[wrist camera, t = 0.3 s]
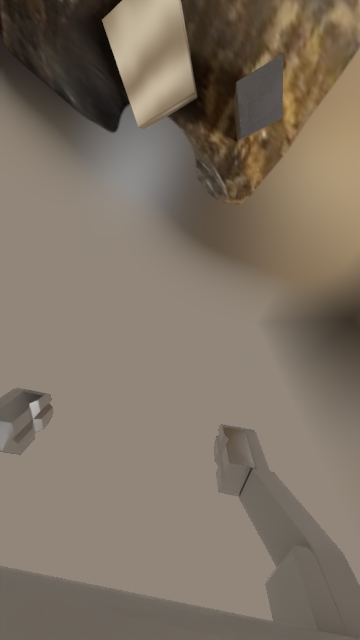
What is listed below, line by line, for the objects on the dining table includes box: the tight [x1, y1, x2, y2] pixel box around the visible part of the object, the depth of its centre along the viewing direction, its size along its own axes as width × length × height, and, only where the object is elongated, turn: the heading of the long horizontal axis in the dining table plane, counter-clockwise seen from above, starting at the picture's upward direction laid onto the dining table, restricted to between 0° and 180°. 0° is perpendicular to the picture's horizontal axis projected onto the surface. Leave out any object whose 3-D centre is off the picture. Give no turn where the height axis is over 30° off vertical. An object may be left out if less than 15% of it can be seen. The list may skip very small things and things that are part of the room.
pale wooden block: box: [102, 0, 198, 129], centre depth 30 cm, size 12×12×5 cm
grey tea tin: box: [233, 54, 283, 141], centre depth 29 cm, size 6×6×13 cm
